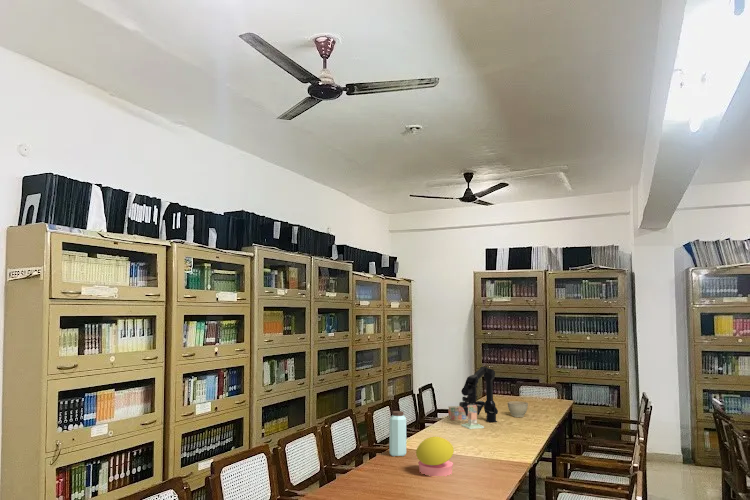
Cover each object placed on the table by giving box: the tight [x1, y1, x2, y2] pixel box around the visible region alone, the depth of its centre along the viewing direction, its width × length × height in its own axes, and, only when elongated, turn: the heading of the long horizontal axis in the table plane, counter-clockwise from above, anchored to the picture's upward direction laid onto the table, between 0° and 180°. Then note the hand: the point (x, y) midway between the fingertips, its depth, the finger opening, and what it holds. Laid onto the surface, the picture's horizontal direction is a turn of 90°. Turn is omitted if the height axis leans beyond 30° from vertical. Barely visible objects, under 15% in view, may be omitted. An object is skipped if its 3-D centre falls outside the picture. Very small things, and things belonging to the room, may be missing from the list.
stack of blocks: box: [448, 401, 477, 421], centre depth 455 cm, size 21×6×12 cm, turn 101°
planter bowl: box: [507, 400, 529, 418], centre depth 466 cm, size 16×16×11 cm
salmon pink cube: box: [467, 412, 478, 420], centre depth 423 cm, size 4×4×4 cm
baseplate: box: [461, 422, 485, 430], centre depth 423 cm, size 12×12×2 cm
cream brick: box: [467, 418, 478, 425], centre depth 423 cm, size 4×4×4 cm
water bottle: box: [388, 410, 407, 457], centre depth 342 cm, size 10×10×25 cm
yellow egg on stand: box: [415, 436, 455, 477], centre depth 306 cm, size 20×18×20 cm
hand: (472, 415), depth 423 cm, fingers open, 9 cm apart
